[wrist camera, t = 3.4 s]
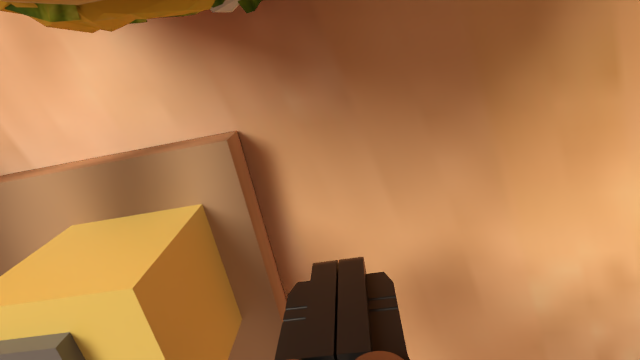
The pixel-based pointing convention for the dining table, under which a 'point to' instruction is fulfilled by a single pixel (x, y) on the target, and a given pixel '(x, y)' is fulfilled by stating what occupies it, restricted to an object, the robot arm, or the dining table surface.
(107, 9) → the burger
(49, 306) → the yellow cube
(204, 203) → the board
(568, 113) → the dining table surface
